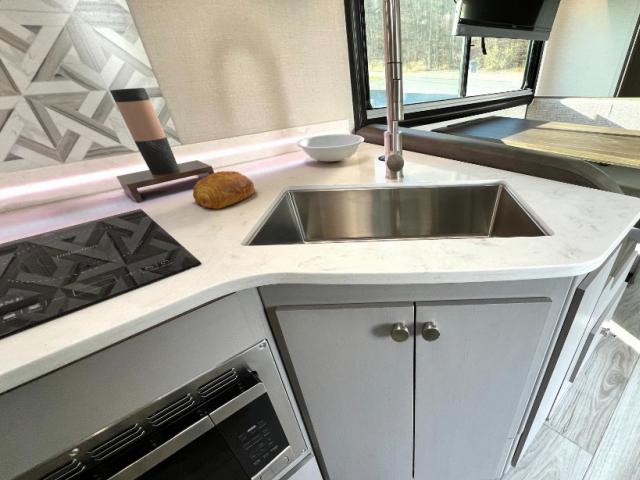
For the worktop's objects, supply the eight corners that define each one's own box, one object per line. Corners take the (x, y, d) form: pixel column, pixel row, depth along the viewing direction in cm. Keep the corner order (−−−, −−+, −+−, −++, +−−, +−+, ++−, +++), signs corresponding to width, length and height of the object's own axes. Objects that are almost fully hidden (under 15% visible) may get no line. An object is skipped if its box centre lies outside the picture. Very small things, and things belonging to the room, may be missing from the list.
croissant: (267, 201, 90) (262, 171, 86) (218, 213, 78) (210, 179, 73) (231, 193, 95) (225, 165, 91) (180, 204, 83) (171, 171, 78)
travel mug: (182, 166, 96) (148, 87, 84) (177, 172, 90) (139, 89, 78) (154, 169, 94) (115, 89, 82) (146, 176, 88) (103, 91, 76)
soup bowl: (295, 157, 122) (291, 138, 118) (354, 149, 129) (352, 131, 125) (308, 172, 104) (303, 151, 100) (375, 162, 112) (373, 142, 108)
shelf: (136, 203, 86) (126, 184, 83) (125, 193, 92) (116, 176, 89) (218, 182, 98) (211, 166, 95) (203, 176, 105) (197, 160, 102)
